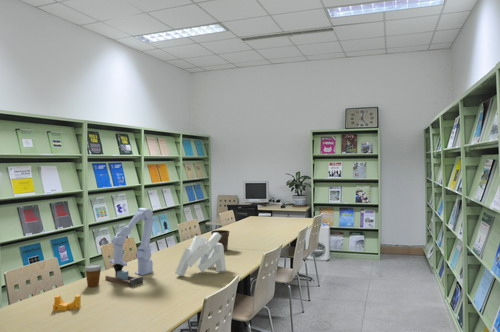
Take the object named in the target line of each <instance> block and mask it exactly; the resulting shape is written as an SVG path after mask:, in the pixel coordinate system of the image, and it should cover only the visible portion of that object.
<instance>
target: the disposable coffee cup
mask: <svg viewBox="0 0 500 332" xmlns="http://www.w3.org/2000/svg"><path fill="white" fill-rule="evenodd" d="M84 270H85V275H86V283H87V284H86V285H87V287H88V288H96V287H98V286H99V285H100V278H101V270H102V265H101V264H99V263H94V264H93V263H92V264H87V265H86V266H85V268H84Z"/></svg>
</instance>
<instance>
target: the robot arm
mask: <svg viewBox="0 0 500 332" xmlns="http://www.w3.org/2000/svg"><path fill="white" fill-rule="evenodd" d="M153 217H154V212H153V211H152V209H150V208H146V207H145V208H144V207H139V208H137V210H136V211H135V213H134V215H133V216H132V218H131V219H130V221H129V222H128V224H127V225H125V226H122V227H121V230H120V231H119V232H118V233H117V234H116V235H115V236H113V237H112V240H111V243H112V245H113V259H110V260H109V263H110V264H113V265H112V267H113V269H114V272H115V273H116V276H117V272H118V271H121V270H123V269H124V267H127V266H128V262H126V261H124V244H125V243H126V239H127V237H128V236H129V235H130V234H131V233H132V229H133V227H134V226H136V224H137V223H138V222H139V221H141V220H142V221H143V222H144V223H143V224H144V226H143V230H142V236H141V241H140V245H139V246H138V247H137V251H136V253H135V257H136V259H137V271H136V272H135V274H136V275H140V276H144V275H148V274H152V273H154V271H153V269H154V268H153V265H154V263H153V260H152V259H151V258H152V249H151V247H150V242H151V236H152V230H153V226H154V218H153Z"/></svg>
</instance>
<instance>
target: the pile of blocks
mask: <svg viewBox="0 0 500 332" xmlns="http://www.w3.org/2000/svg"><path fill="white" fill-rule="evenodd" d="M220 238H221V235H220V234H219V233H218V232H216V233H213V234H211V236H210V238H209V239H208V238H207V237H206V236H205V235H203V236H202V237H201V236H198V235H194V237H193V240H192V242H191V243H190V246H189V248H188V247H185V248H184V251H183V252H182V253H183V254H182V255H181V257H180V260H179V263H178V265H177V268H176V269H175V273H174V274H175V275H178V276H181V277H184V276H185V275H186V272H187V270H188V267H189V268H191V267H193V265H195V264H196V263H197V265H196V267H197V268H198V270H199V271H200V272H201V273H203V272H205V271H206V270H207V269H208V268H214V267H215V271H216V273H222V272H226V271H227V268H226V267H227V266H226V259H225V251H224V248H223V245H222V244H221V243H218V241H219V240H220ZM197 261H198V262H197Z"/></svg>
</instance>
